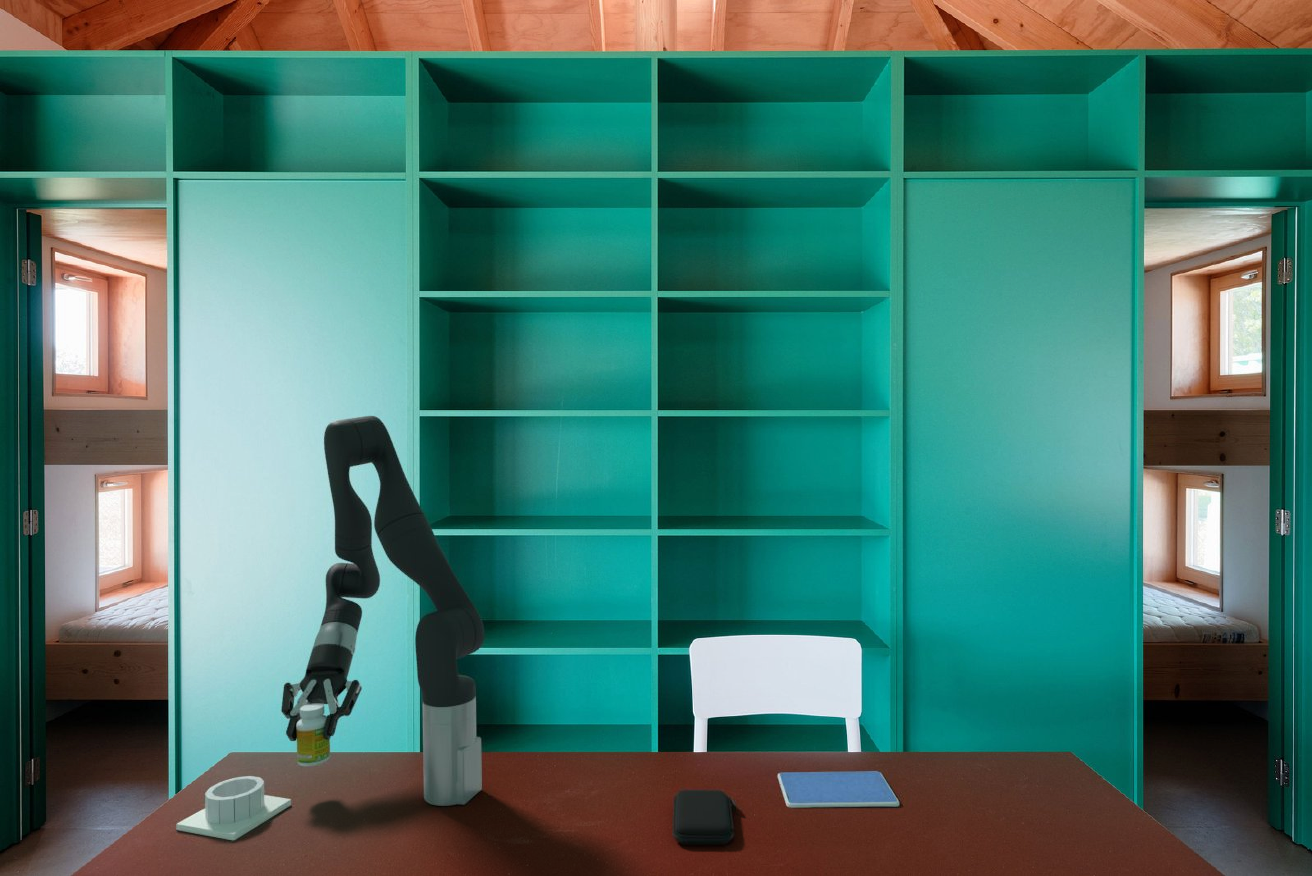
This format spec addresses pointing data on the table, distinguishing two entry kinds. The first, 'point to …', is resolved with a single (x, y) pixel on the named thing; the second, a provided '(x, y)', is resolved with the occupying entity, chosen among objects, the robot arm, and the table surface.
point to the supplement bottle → (312, 736)
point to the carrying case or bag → (703, 817)
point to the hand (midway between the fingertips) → (309, 738)
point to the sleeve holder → (234, 809)
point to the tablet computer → (836, 789)
